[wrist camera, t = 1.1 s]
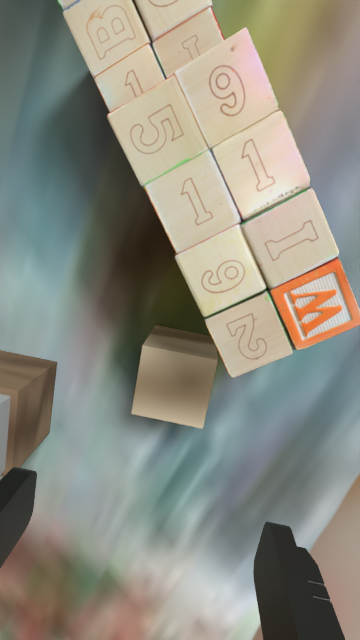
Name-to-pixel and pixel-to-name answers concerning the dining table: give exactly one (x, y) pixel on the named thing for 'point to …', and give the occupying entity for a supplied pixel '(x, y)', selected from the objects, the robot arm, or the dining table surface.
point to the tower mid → (4, 428)
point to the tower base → (26, 403)
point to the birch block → (175, 376)
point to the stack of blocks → (218, 174)
